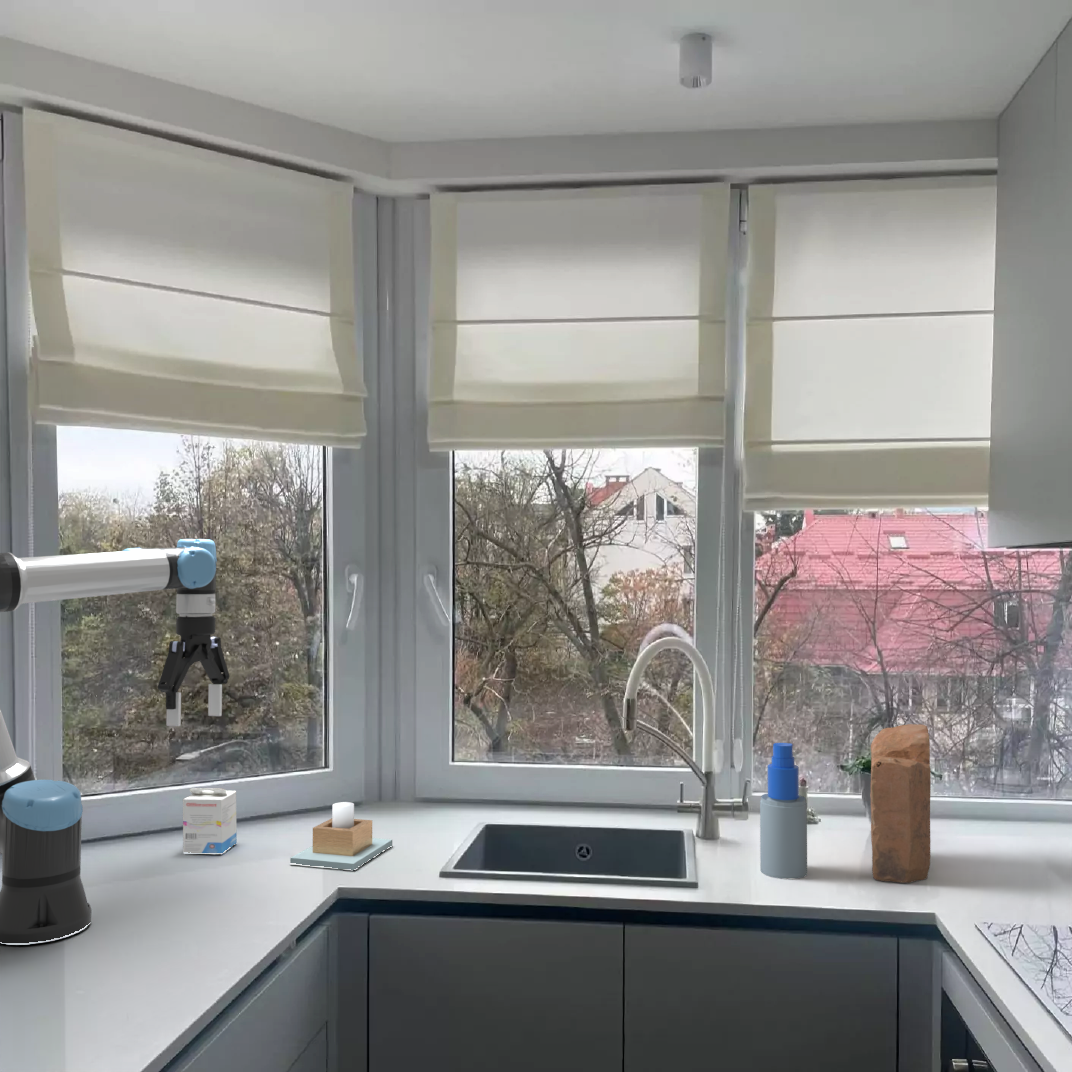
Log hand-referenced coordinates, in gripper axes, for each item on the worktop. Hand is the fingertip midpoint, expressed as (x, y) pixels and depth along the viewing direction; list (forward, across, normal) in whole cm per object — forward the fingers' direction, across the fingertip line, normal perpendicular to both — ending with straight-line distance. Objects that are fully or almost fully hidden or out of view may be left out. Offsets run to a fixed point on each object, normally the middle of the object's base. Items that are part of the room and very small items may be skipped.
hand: (194, 720), depth 200 cm
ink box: (+29, +10, +3) cm, 31 cm away
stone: (+29, +38, -136) cm, 144 cm away
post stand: (+29, +14, -26) cm, 41 cm away
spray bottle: (+29, +29, -114) cm, 121 cm away
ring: (+27, +14, -26) cm, 40 cm away
